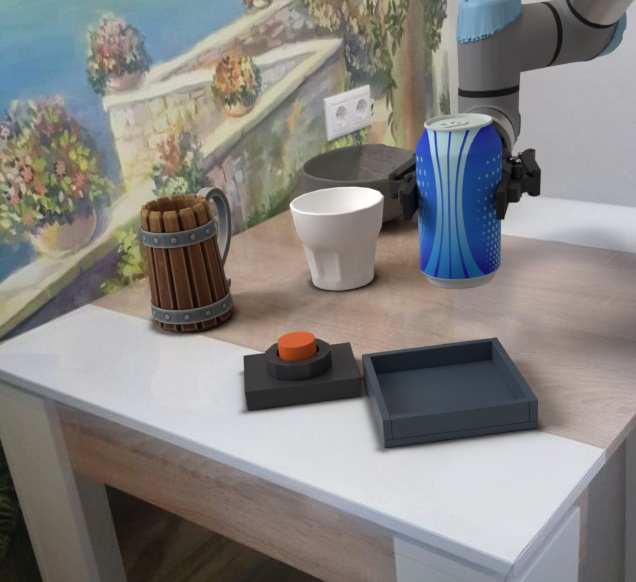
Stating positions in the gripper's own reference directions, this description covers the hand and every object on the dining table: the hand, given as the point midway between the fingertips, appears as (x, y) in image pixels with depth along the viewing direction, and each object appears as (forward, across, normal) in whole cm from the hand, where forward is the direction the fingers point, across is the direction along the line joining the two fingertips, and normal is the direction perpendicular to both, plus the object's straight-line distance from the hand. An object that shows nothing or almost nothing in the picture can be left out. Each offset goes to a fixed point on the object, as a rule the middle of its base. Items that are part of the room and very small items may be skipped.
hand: (452, 206), depth 85 cm
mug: (-15, +35, -18) cm, 42 cm away
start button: (+4, +16, -14) cm, 22 cm away
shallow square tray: (+7, 0, -18) cm, 19 cm away
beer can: (-5, 0, -9) cm, 10 cm away
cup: (-27, +19, -18) cm, 37 cm away
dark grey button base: (+4, +16, -18) cm, 24 cm away
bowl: (-53, +21, -18) cm, 60 cm away
